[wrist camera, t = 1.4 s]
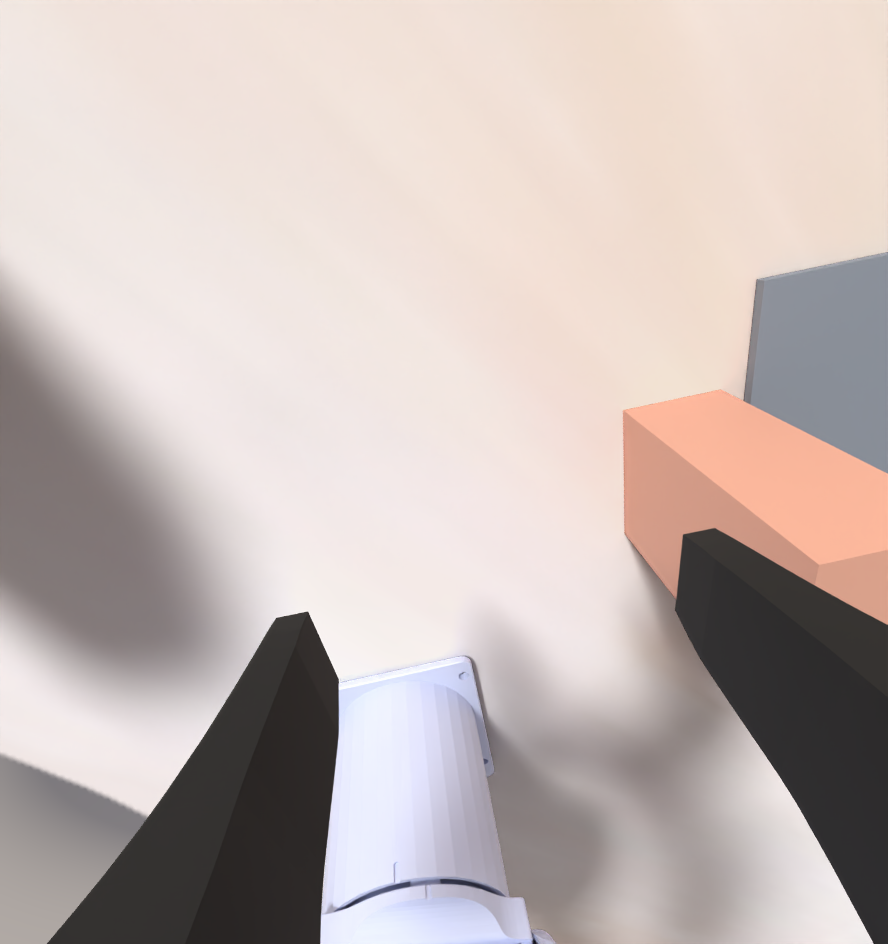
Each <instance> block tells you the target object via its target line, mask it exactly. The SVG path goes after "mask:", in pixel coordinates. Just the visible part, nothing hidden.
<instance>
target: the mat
mask: <svg viewBox="0 0 888 944" xmlns="http://www.w3.org/2000/svg"><path fill="white" fill-rule="evenodd" d="M744 402H746V403H748V404H750V405H752V406H754V407H756V408H758V409H760V410H762V411H764V412H766V413H768V414H770V415H772V416H774V417H776V418H778V419H780V420H782V421H784V422H786V423H788V424H790V425H792V426H794V427H796V428H798V429H800V430H802V431H804V432H806V433H808V434H810V435H812V436H814V437H816V438H818V439H820V440H822V441H824V442H826V443H828V444H830V445H832V446H834V447H836V448H838V449H840V450H842V451H844V452H846V453H848V454H850V455H852V456H854V457H856V458H858V459H860V460H862V461H863V462H865V463H867V464H869V465H871V466H873V467H875V468H877V469H879V470H881V471H883V472H885V473H887V474H888V252H886V253H882V254H877V255H872V256H867V257H862V258H858V259H853V260H848V261H843V262H839V263H834V264H829V265H824V266H819V267H815V268H810V269H805V270H800V271H795V272H791V273H786V274H781V275H776V276H771V277H767V278H762V279H757V284H756V294H755V303H754V312H753V321H752V331H751V340H750V349H749V358H748V368H747V377H746V386H745V395H744Z"/></svg>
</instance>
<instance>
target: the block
mask: <svg viewBox="0 0 888 944" xmlns="http://www.w3.org/2000/svg"><path fill="white" fill-rule="evenodd" d="M623 441H624V528H625V534H626V536H627V537H628V538H629V540H630V541H631V542H632V543H633V545H634V546H635V547H636V549H637V550H638V551H639V552H640V554H641V555H642V556H643V558H644V559H645V560H646V561H647V563H648V564H649V565H650V567H651V568H652V569H653V570H654V572H655V573H656V574H657V576H658V577H659V578H660V579H661V581H662V582H663V583H664V585H665V586H666V587H667V588H668V590H669V591H670V592H671V594H672V595H673V596H674V597H675V599H676V597H677V587H678V578H679V568H680V558H681V548H682V539H683V534H687V533H692V532H697V531H702V530H707V529H712V528H716V529H718V530H719V531H721V532H723V533H725V534H727V535H729V536H730V537H732V538H734V539H736V540H737V541H739V542H741V543H742V544H744V545H746V546H748V547H749V548H751V549H753V550H754V551H756V552H758V553H760V554H761V555H763V556H765V557H766V558H768V559H770V560H772V561H773V562H775V563H777V564H778V565H780V566H782V567H784V568H785V569H787V570H789V571H791V572H792V573H794V574H796V575H797V576H799V577H801V578H803V579H804V580H806V581H808V582H810V583H811V584H813V585H815V586H817V587H819V588H820V589H822V590H824V591H826V592H828V593H829V594H831V595H833V596H835V597H837V598H838V599H840V600H842V601H844V602H846V603H847V604H849V605H851V606H853V607H855V608H857V609H859V610H860V611H862V612H864V613H866V614H868V615H870V616H872V617H874V618H876V619H877V620H879V621H881V622H883V623H885V624H887V625H888V474H887V473H885V472H883V471H881V470H879V469H877V468H875V467H873V466H871V465H869V464H867V463H865V462H863V461H862V460H860V459H858V458H856V457H854V456H852V455H850V454H848V453H846V452H844V451H842V450H840V449H838V448H836V447H834V446H832V445H830V444H828V443H826V442H824V441H822V440H820V439H818V438H816V437H814V436H812V435H810V434H808V433H806V432H804V431H802V430H800V429H798V428H796V427H794V426H792V425H790V424H788V423H786V422H784V421H782V420H780V419H778V418H776V417H774V416H772V415H770V414H768V413H766V412H764V411H762V410H760V409H758V408H756V407H754V406H752V405H750V404H748V403H746V402H744V401H742V400H740V399H738V398H736V397H734V396H732V395H731V394H729V393H727V392H725V391H723V390H716V391H711V392H707V393H702V394H697V395H693V396H688V397H683V398H678V399H674V400H669V401H664V402H660V403H655V404H650V405H646V406H641V407H636V408H632V409H627V410H623Z"/></svg>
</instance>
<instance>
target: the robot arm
mask: <svg viewBox="0 0 888 944" xmlns="http://www.w3.org/2000/svg"><path fill="white" fill-rule="evenodd" d="M675 611H676V613H677V615H678V617H679V619H680V621H681V623H682V625H683V627H684V629H685V631H686V633H687V635H688V637H689V639H690V640H691V642H692V644H693V646H694V648H695V650H696V652H697V654H698V655H699V657H700V659H701V661H702V662H703V664H704V665H705V667H706V668H707V670H708V671H709V673H710V674H711V676H712V677H713V679H714V680H715V682H716V683H717V685H718V686H719V688H720V689H721V691H722V692H723V694H724V695H725V697H726V698H727V700H728V701H729V703H730V704H731V706H732V707H733V709H734V710H735V712H736V713H737V714H738V716H739V717H740V719H741V720H742V722H743V723H744V725H745V726H746V728H747V729H748V731H749V732H750V734H751V735H752V737H753V738H754V739H755V741H756V742H757V744H758V745H759V747H760V748H761V750H762V751H763V753H764V754H765V756H766V757H767V759H768V760H769V761H770V763H771V764H772V766H773V767H774V769H775V770H776V772H777V773H778V775H779V776H780V778H781V779H782V781H783V783H784V784H785V786H786V787H787V789H788V790H789V792H790V794H791V795H792V797H793V798H794V800H795V802H796V803H797V805H798V807H799V808H800V810H801V812H802V814H803V815H804V817H805V819H806V821H807V822H808V824H809V826H810V828H811V830H812V831H813V833H814V835H815V837H816V838H817V840H818V842H819V844H820V846H821V847H822V849H823V851H824V853H825V854H826V856H827V858H828V860H829V862H830V863H831V865H832V867H833V869H834V870H835V872H836V874H837V876H838V878H839V880H840V882H841V884H842V885H843V887H844V889H845V891H846V893H847V895H848V897H849V898H850V900H851V902H852V904H853V906H854V908H855V910H856V911H857V913H858V915H859V917H860V919H861V921H862V923H863V924H864V926H865V928H866V930H867V932H868V934H869V936H870V937H871V939H872V941H873V943H874V944H888V625H887V624H885V623H883V622H881V621H879V620H877V619H876V618H874V617H872V616H870V615H868V614H866V613H864V612H862V611H860V610H859V609H857V608H855V607H853V606H851V605H849V604H847V603H846V602H844V601H842V600H840V599H838V598H837V597H835V596H833V595H831V594H829V593H828V592H826V591H824V590H822V589H820V588H819V587H817V586H815V585H813V584H811V583H810V582H808V581H806V580H804V579H803V578H801V577H799V576H797V575H796V574H794V573H792V572H791V571H789V570H787V569H785V568H784V567H782V566H780V565H778V564H777V563H775V562H773V561H772V560H770V559H768V558H766V557H765V556H763V555H761V554H760V553H758V552H756V551H754V550H753V549H751V548H749V547H748V546H746V545H744V544H742V543H741V542H739V541H737V540H736V539H734V538H732V537H730V536H729V535H727V534H725V533H723V532H721V531H719V530H718V529H716V528H712V529H707V530H702V531H697V532H692V533H687V534H683V539H682V548H681V558H680V568H679V578H678V587H677V597H676V607H675ZM463 672H465V673H463ZM493 773H494V765H493V760H492V756H491V751H490V747H489V742H488V737H487V733H486V728H485V724H484V719H483V714H482V710H481V705H480V701H479V696H478V691H477V687H476V682H475V678H474V673H473V668H472V664H471V660H470V659H469V658H468V657H465V656H459V657H454V658H450V659H445V660H441V661H436V662H432V663H427V664H423V665H418V666H414V667H409V668H405V669H400V670H396V671H391V672H387V673H382V674H378V675H373V676H369V677H364V678H360V679H355V680H351V681H346V682H342V683H339V679H338V677H337V675H336V673H335V670H334V668H333V666H332V664H331V661H330V659H329V657H328V655H327V653H326V650H325V648H324V646H323V644H322V642H321V639H320V637H319V635H318V633H317V630H316V628H315V626H314V624H313V622H312V619H311V617H310V615H309V613H308V612H303V613H299V614H294V615H289V616H284V617H279V618H276V619H275V621H274V622H273V624H272V625H271V627H270V629H269V630H268V632H267V634H266V635H265V637H264V639H263V640H262V642H261V644H260V645H259V647H258V649H257V650H256V652H255V654H254V656H253V657H252V659H251V661H250V662H249V664H248V666H247V667H246V669H245V671H244V672H243V674H242V676H241V677H240V679H239V681H238V682H237V684H236V686H235V687H234V689H233V691H232V692H231V694H230V696H229V697H228V699H227V700H226V702H225V704H224V705H223V707H222V708H221V710H220V712H219V713H218V715H217V716H216V718H215V720H214V721H213V723H212V724H211V726H210V728H209V729H208V731H207V732H206V734H205V735H204V737H203V738H202V740H201V742H200V743H199V745H198V746H197V748H196V749H195V750H194V752H193V753H192V755H191V756H190V758H189V759H188V761H187V762H186V764H185V765H184V767H183V768H182V770H181V771H180V773H179V774H178V775H177V777H176V778H175V780H174V781H173V783H172V784H171V786H170V787H169V789H168V790H167V792H166V793H165V794H164V796H163V797H162V799H161V800H160V801H159V803H158V804H157V806H156V807H155V808H154V810H153V811H152V813H151V814H150V815H149V817H148V818H147V819H146V821H145V822H144V824H143V825H142V826H141V828H140V829H139V830H138V832H137V833H136V834H135V836H134V837H133V838H132V839H131V841H130V842H129V843H128V845H127V846H126V847H125V849H124V850H123V851H122V852H121V854H120V855H119V856H118V858H117V859H116V860H115V862H114V863H113V864H112V865H111V867H110V868H109V869H108V871H107V872H106V873H105V875H104V876H103V877H102V878H101V880H100V881H99V882H98V883H97V884H96V885H95V887H94V888H93V889H92V890H91V892H90V893H89V894H88V895H87V897H86V898H85V899H84V900H83V901H82V903H81V904H80V905H79V906H78V907H77V909H76V910H75V911H74V913H72V915H71V916H70V917H69V918H68V919H67V921H66V922H65V923H64V924H63V925H62V927H61V928H60V929H59V930H58V931H57V933H56V934H55V935H54V936H53V937H52V938H51V940H50V941H49V942H48V943H47V944H556V942H555V941H554V940H553V938H552V937H551V936H550V935H549V934H548V933H547V932H546V931H544V930H540V929H533V930H531V928H530V924H529V919H528V914H527V910H526V905H525V900H524V898H522V897H510V895H509V890H508V885H507V880H506V875H505V869H504V864H503V859H502V854H501V849H500V844H499V838H498V833H497V828H496V823H495V818H494V813H493V807H492V802H491V797H490V792H489V787H488V781H487V777H489V776H491V775H492V774H493ZM326 848H327V851H326ZM325 857H326V864H325ZM324 866H325V876H324ZM323 877H324V888H323ZM322 890H323V900H322ZM321 903H322V912H321Z"/></svg>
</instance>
